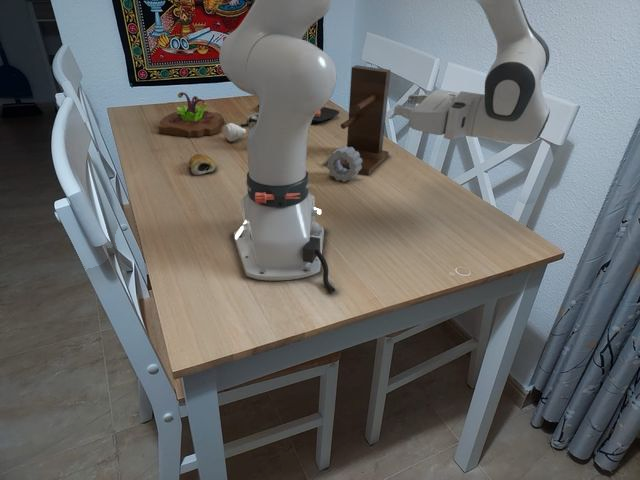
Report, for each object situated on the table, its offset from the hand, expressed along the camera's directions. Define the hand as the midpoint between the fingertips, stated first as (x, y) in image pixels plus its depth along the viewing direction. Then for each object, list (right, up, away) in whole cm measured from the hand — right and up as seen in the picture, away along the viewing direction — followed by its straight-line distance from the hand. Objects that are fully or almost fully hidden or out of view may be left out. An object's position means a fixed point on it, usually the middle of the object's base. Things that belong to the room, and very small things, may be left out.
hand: (402, 103), depth 101 cm
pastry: (-51, -12, +20) cm, 55 cm away
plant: (-61, +7, +47) cm, 77 cm away
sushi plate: (-31, +11, +56) cm, 65 cm away
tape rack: (-8, -8, +27) cm, 29 cm away
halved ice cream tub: (-34, -3, +34) cm, 48 cm away
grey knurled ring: (-12, -15, +17) cm, 25 cm away
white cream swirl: (-44, 0, +38) cm, 58 cm away
